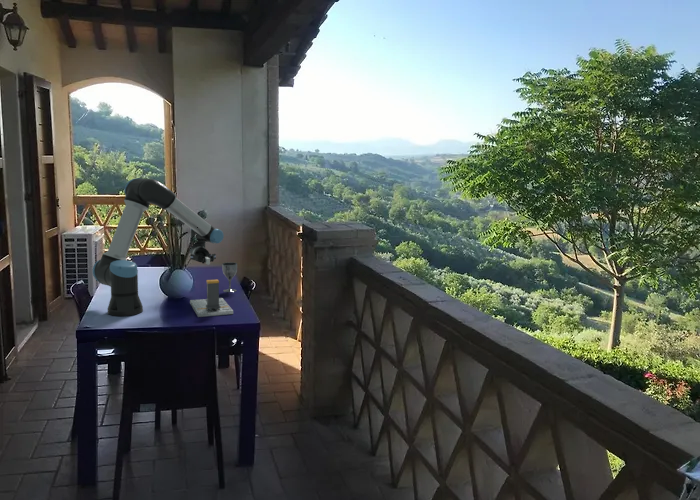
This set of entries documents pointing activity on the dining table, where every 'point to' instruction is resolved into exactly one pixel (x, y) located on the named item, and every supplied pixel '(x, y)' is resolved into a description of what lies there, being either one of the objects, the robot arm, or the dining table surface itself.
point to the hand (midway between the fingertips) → (208, 261)
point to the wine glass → (229, 273)
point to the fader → (212, 294)
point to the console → (202, 311)
